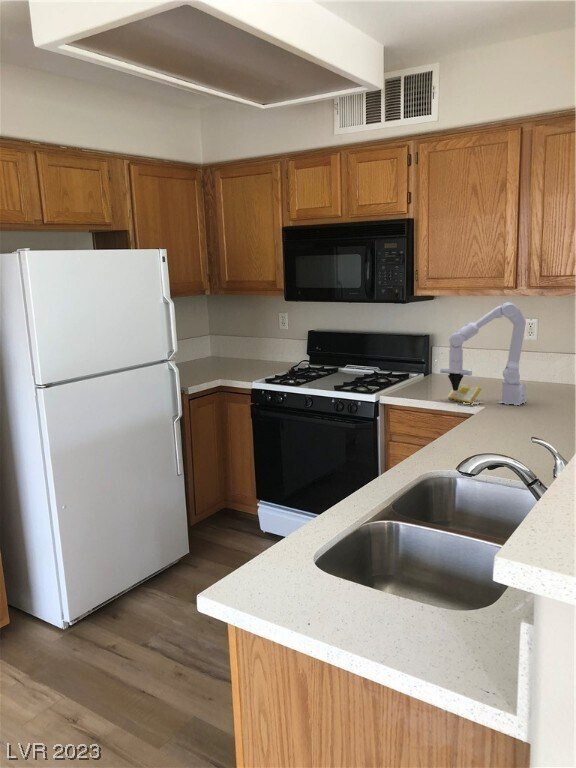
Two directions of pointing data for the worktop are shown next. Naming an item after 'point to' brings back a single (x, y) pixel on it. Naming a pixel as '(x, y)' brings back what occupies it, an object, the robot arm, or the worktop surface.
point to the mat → (467, 404)
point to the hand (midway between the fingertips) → (455, 390)
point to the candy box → (465, 393)
